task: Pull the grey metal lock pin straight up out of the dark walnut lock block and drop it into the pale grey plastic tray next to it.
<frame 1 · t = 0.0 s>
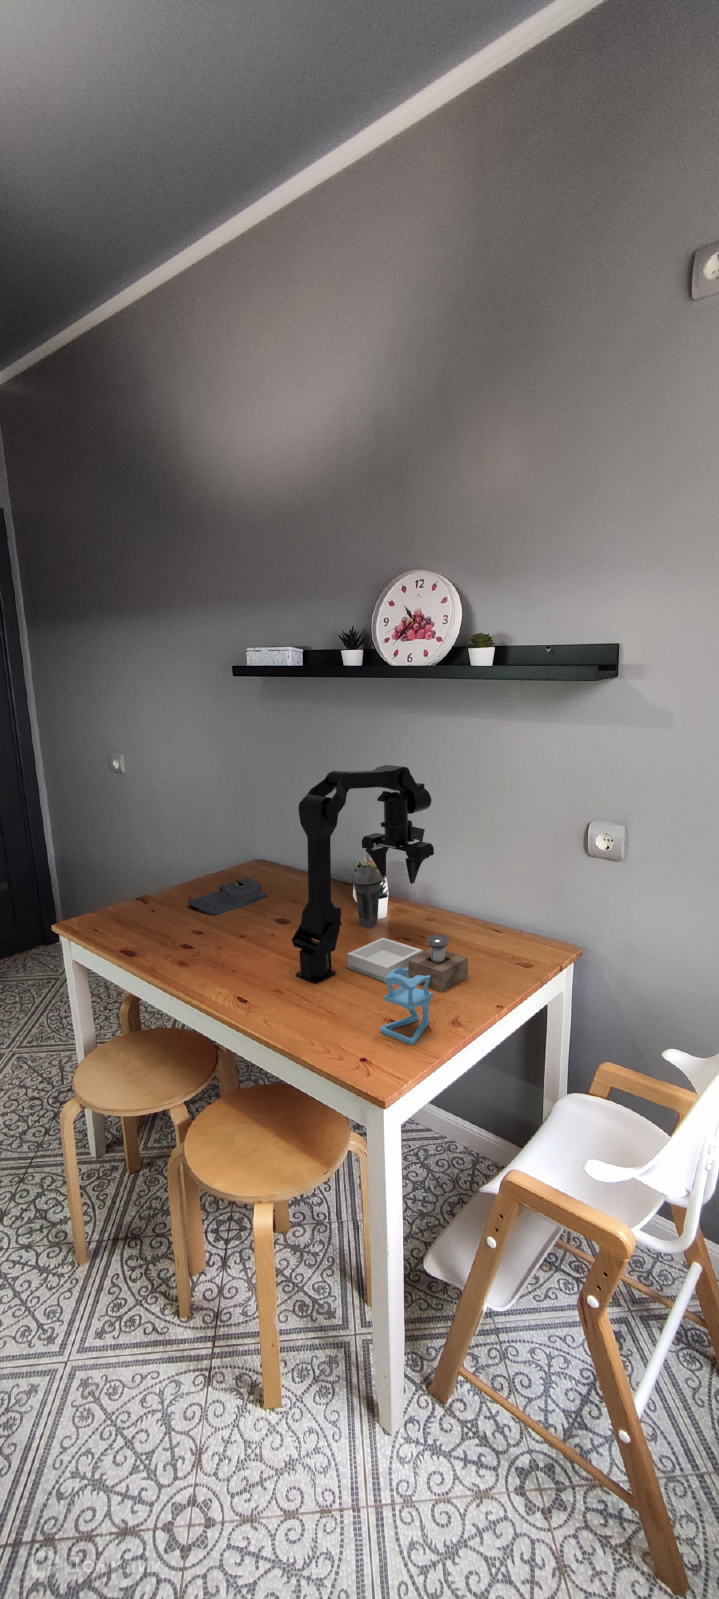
hand: (397, 879, 179), 15 cm above the table, tool pointing down, fingers open, 9 cm apart
beverage cup: (368, 924, 191), on the table
tray: (385, 966, 165), on the table
lock block: (438, 978, 158), on the table
grey stepped plate: (227, 903, 213), on the table
chair: (409, 1030, 137), on the table
lock pin: (437, 958, 157), in the lock block
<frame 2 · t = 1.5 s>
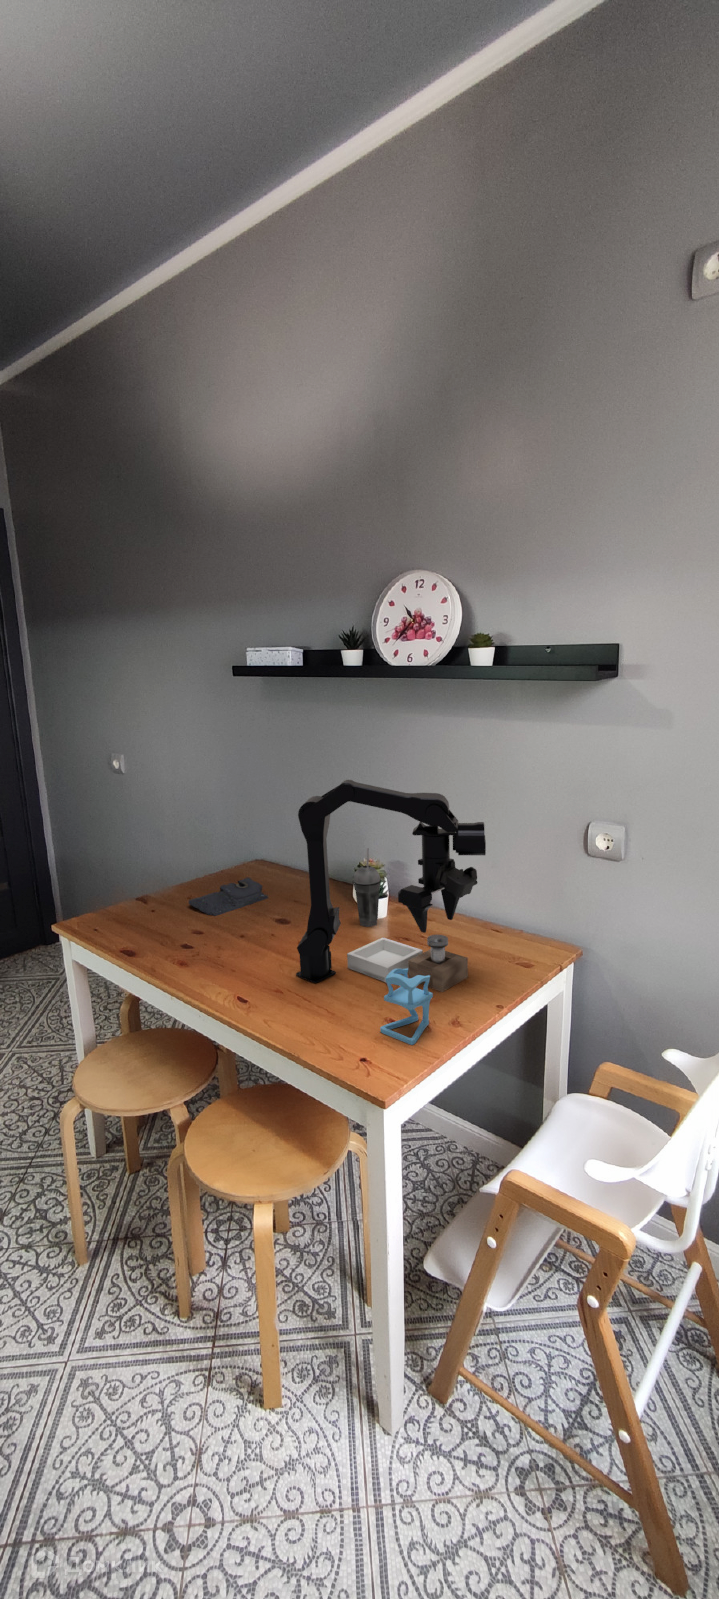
hand: (437, 925, 155), 12 cm above the table, tool pointing down, fingers open, 9 cm apart
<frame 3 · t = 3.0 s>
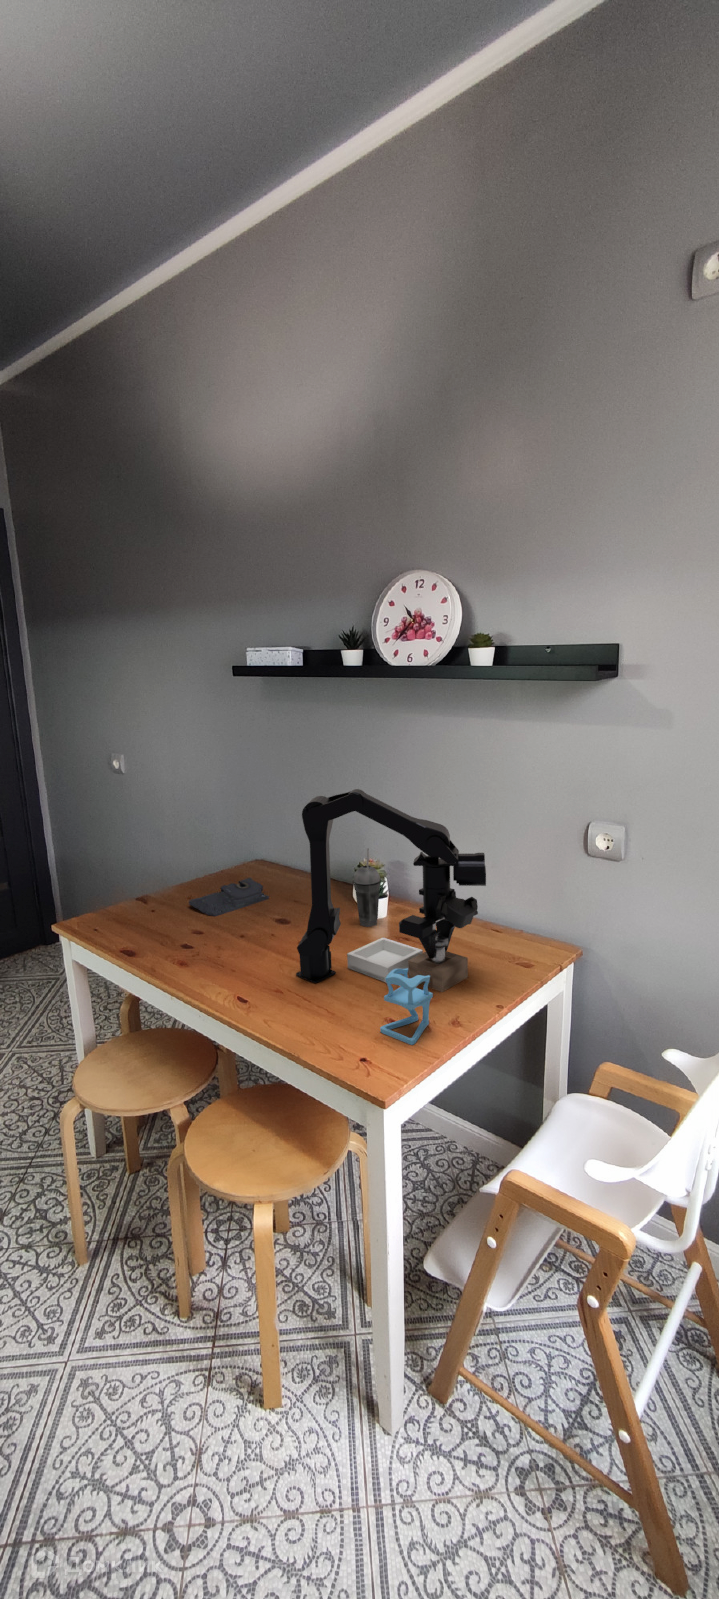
hand: (437, 954, 156), 6 cm above the table, tool pointing down, fingers closed on lock pin, 4 cm apart
lock pin: (438, 958, 157), in the lock block, touching gripper
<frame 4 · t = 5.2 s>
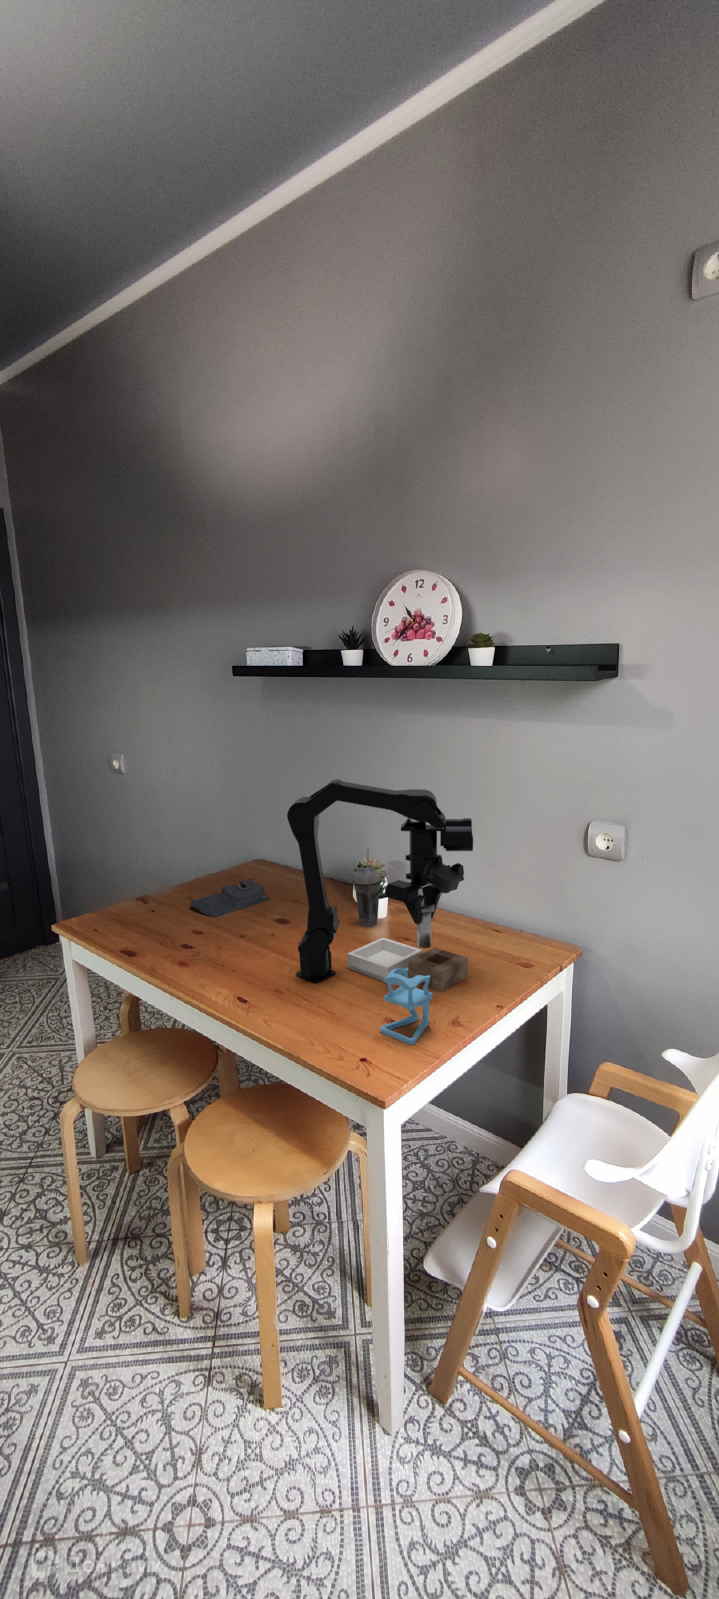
hand: (423, 921, 157), 13 cm above the table, tool pointing down, fingers closed on lock pin, 4 cm apart
lock pin: (424, 925, 157), point 12 cm above the table, touching gripper
when the fingers open (8 cm above the table, at t = 7.4 s): lock pin drops 1 cm, resting on tray.
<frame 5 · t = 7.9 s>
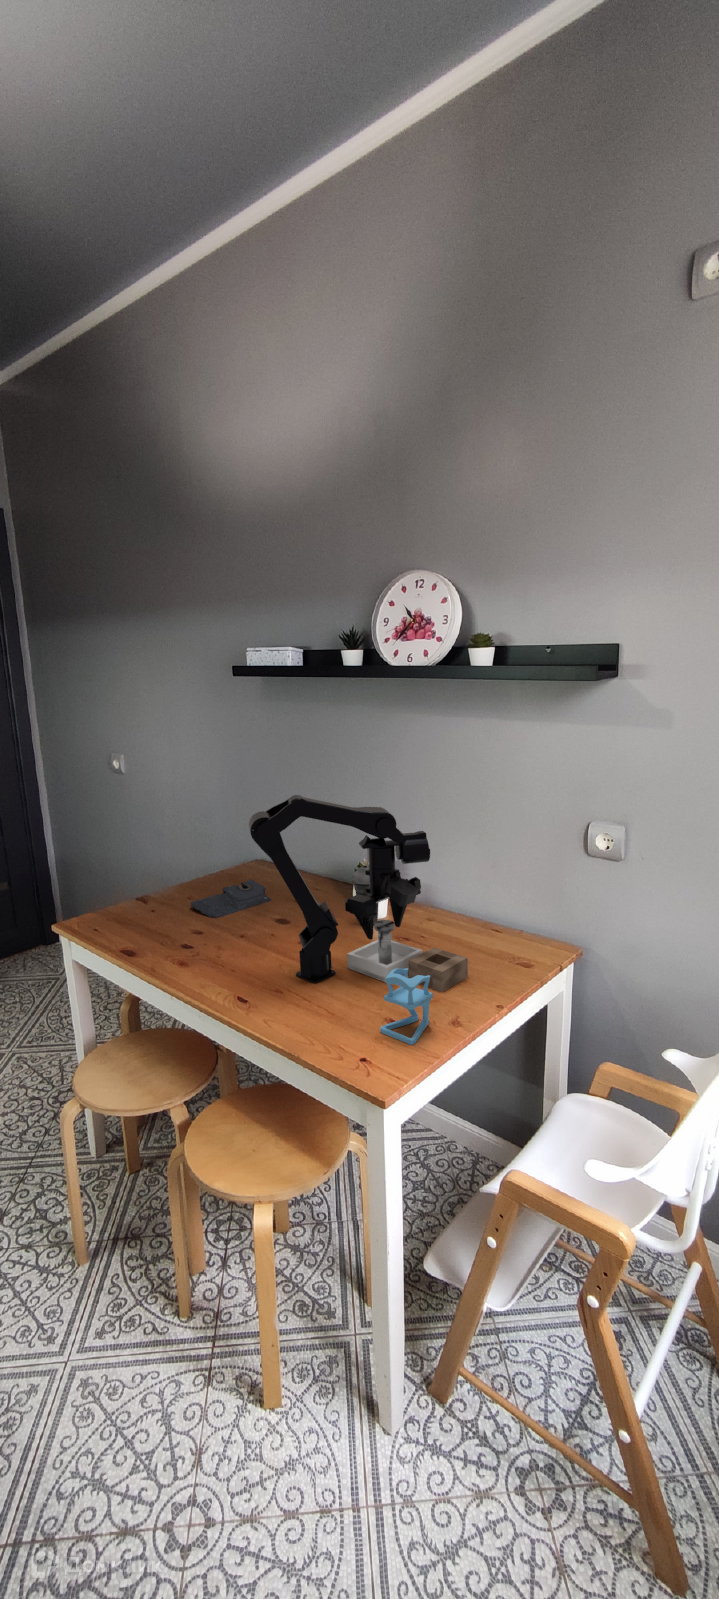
hand: (384, 932, 163), 8 cm above the table, tool pointing down, fingers open, 9 cm apart
lock pin: (384, 942, 164), in the tray, point 6 cm above the table
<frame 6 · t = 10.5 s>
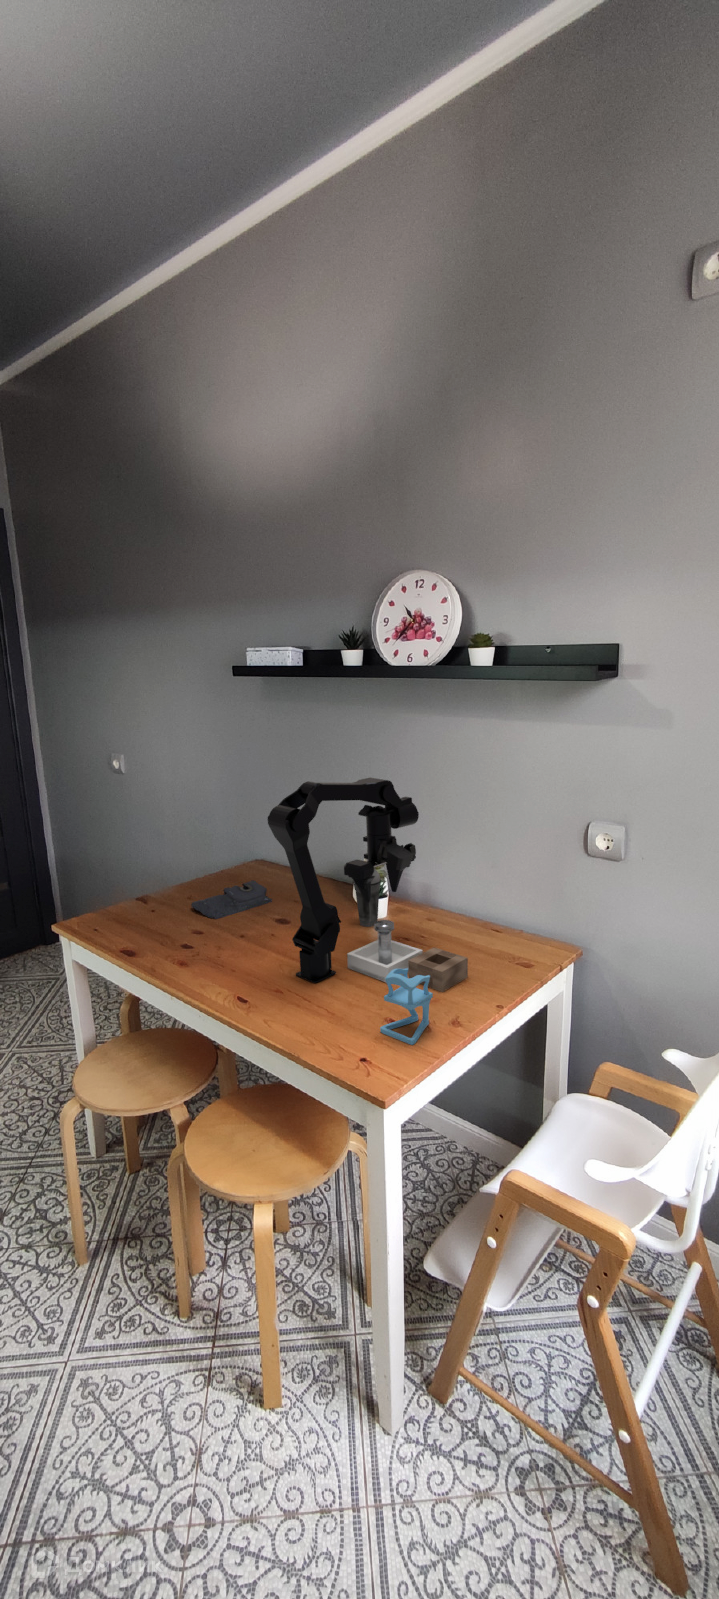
hand: (381, 896, 172), 13 cm above the table, tool pointing down, fingers open, 9 cm apart
at the end: lock pin inside the target area on the tray (0.0 cm from its centre), point 5.6 cm above the tray's base; the gripper is holding nothing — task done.
